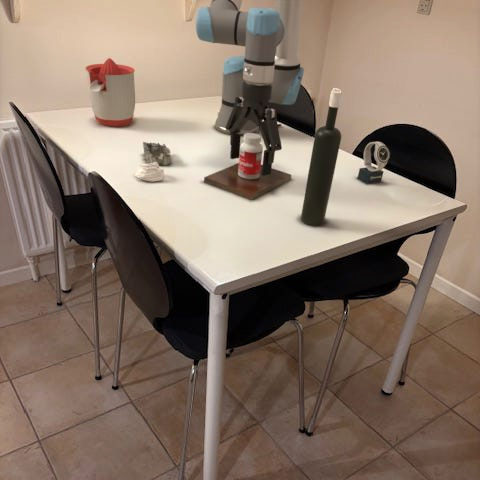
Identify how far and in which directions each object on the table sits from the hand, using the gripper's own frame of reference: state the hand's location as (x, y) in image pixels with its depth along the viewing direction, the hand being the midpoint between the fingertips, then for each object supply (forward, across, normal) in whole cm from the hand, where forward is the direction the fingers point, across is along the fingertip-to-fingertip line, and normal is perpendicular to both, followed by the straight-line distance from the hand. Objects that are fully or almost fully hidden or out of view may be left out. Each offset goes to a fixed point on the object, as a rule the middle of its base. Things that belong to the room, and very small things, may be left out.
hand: (249, 166), depth 132 cm
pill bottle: (+3, 0, 0) cm, 3 cm away
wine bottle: (+4, +27, -2) cm, 27 cm away
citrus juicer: (+4, -63, -9) cm, 64 cm away
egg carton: (+4, -26, -14) cm, 30 cm away
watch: (+4, +17, +33) cm, 37 cm away
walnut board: (+4, 0, 0) cm, 4 cm away
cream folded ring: (+4, -15, -23) cm, 28 cm away
